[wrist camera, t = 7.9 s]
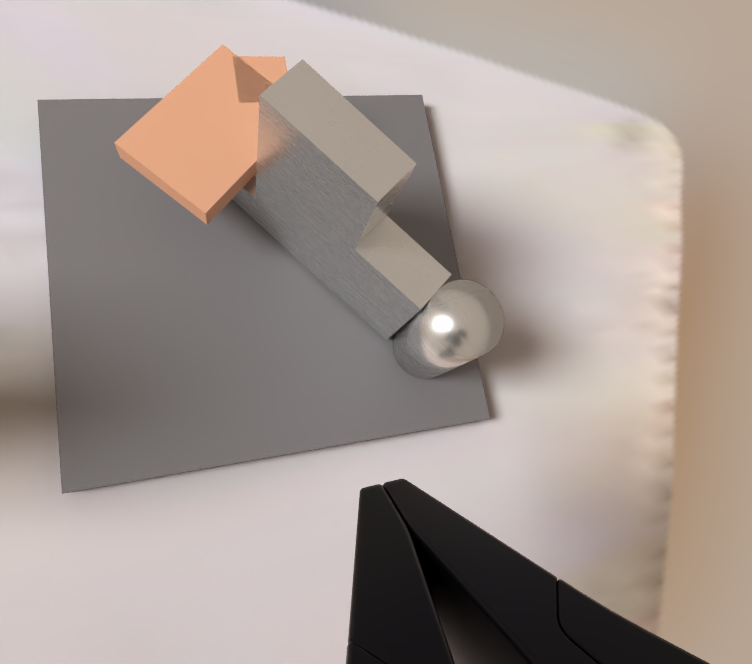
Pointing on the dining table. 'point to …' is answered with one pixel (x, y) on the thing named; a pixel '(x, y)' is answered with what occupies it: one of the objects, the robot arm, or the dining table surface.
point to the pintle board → (214, 290)
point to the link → (360, 225)
